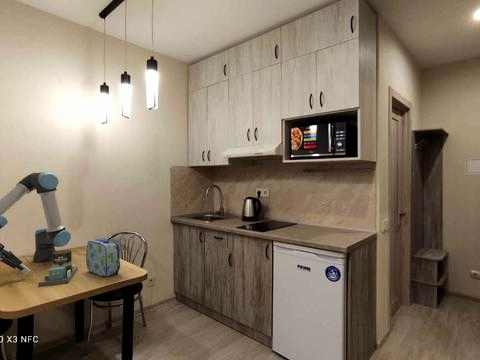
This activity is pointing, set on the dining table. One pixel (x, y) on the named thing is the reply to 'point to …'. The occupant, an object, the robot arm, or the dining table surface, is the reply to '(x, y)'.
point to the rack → (68, 277)
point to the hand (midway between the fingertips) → (28, 272)
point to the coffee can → (62, 259)
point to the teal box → (57, 273)
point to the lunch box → (103, 257)
